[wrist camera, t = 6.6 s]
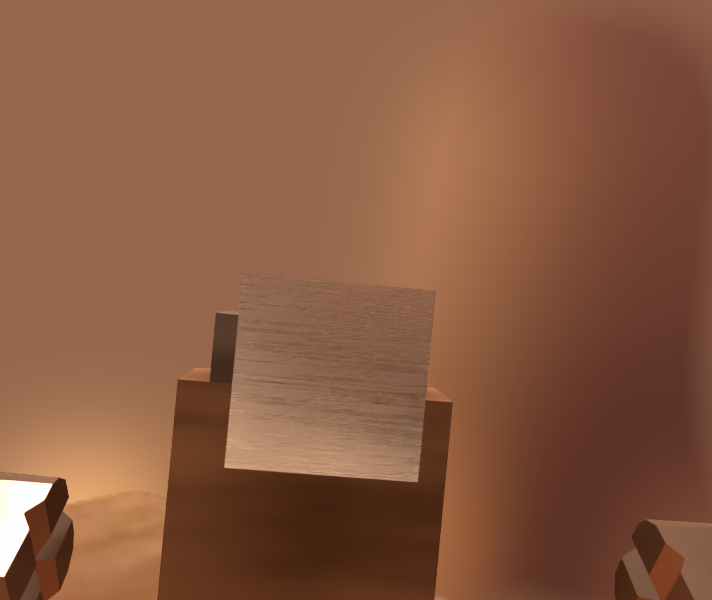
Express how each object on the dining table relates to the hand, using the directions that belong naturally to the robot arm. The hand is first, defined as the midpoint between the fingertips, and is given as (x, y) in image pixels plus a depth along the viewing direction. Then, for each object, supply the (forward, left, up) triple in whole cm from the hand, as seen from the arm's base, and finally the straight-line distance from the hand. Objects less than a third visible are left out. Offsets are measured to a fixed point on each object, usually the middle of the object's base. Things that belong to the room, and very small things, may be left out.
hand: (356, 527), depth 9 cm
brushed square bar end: (+13, +5, 0) cm, 14 cm away
